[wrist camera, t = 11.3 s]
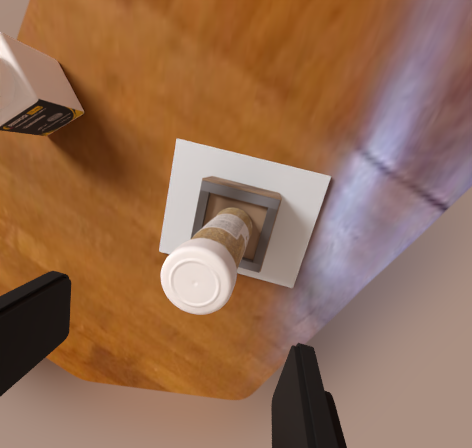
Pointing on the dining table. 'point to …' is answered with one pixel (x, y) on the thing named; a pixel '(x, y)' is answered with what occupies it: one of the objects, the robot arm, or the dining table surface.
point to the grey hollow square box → (244, 198)
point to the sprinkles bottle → (207, 263)
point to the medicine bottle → (33, 91)
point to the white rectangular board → (254, 174)
